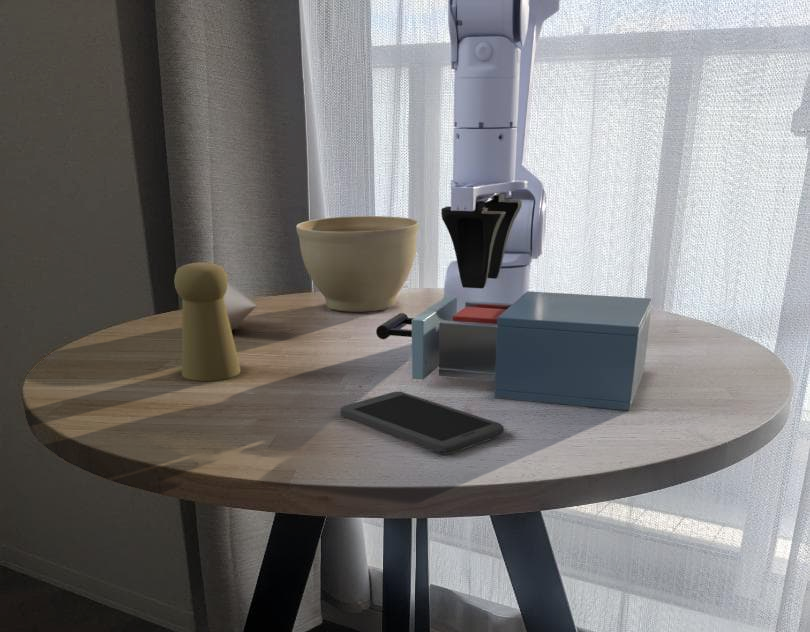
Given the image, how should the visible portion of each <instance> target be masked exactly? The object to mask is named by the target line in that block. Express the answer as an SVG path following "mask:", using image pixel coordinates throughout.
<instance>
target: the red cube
mask: <svg viewBox="0 0 810 632" xmlns="http://www.w3.org/2000/svg"><path fill="white" fill-rule="evenodd" d="M506 310H507V309H493V308H477V307H465V308H463V309H462V310H461V311H459V312H458V313H457V314H455V315H454V316H453V321H459V322H473V323H487V324H497V318H498V317H499V316H500V315H501V314H502V313H503V312H504V311H506Z"/></svg>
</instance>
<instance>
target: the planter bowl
mask: <svg viewBox="0 0 810 632" xmlns="http://www.w3.org/2000/svg"><path fill="white" fill-rule="evenodd" d="M295 226H296V227H295V228H296V233H297V236H298V241H299V248H300V254H301V257H302V260H303V264H304V266H305V269H306V271H307V274H308V275H309V277H310V279H311V281H312V282H313V284H314V285H315V287H316V288H317V289H318V291H319V293H320V294H321V295H322V296H323V297H324V300H325V305H326V307H327V308H329V309H331V310H334V311H339V312H355V313H356V312H371V311H380V310H387V309H389V308H391V307H393V306H395V305H396V303H397V297H398V293H399V292H401V290H402V288H403V287H404V285H405V284H406V281H407V279H408V278H409V275H410V273H411V270H412V268H413V265H414V261H415V257H416V251H417V246H418V245H417V244H418V243H417V242H418V231H419V226H420V225H419V221H418V220H417V219H415V218H410V217H409V218H408V217H404V216H403V217H402V216H386V215H385V216H384V215H354V216H353V215H351V216H334V217H324V218H316V219H311V220H310V219H309V220H307V221H303V222H300V223H297V224H296V225H295Z"/></svg>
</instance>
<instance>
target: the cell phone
mask: <svg viewBox="0 0 810 632" xmlns="http://www.w3.org/2000/svg"><path fill="white" fill-rule="evenodd" d="M339 411H340V416H342V417H343V418H345V419H347V420H351V421H353V422H356V423H358V424H361V425H364V426H366V427H369V428H371V429H374V430H377V431H379V432H383V433H385V434H387V435H390V436H393V437H396V438H398V439H401V440H403V441H406V442H409V443H411V444H414V445H416V446H419V447H422V448H425V449H427V450H430V451H433V452H435V453H438V454H452V453H455V452H459V451H461V450H463V449H466V448H469V447H472V446H474V445H475V446H476V445H478V444H481V443H485V442H486V441H489V440H491V439H495V438H497V437H499V436H502V435H503V434H504V432H505V427H504V425H503V424H502V423H500V422H497V421H493V420H491V419H488V418H485V417H481V416H479V415H475V414H472V413H469V412H466V411H463V410H460V409H457V408H454V407H451V406H447V405H445V404H441V403H438V402H435V401H432V400H428V399H426V398H422V397H419V396H416V395H413V394H410V393H407V392H404V391H401V390H400V391H392V392H388V393H385V394H384V393H383V394H381V395H377V396H374V397H371V398H367V399H363V400H360V401H357V402H353V403H349V404H346V405H342V406H341V407H340V408H339Z"/></svg>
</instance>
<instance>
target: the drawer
mask: <svg viewBox="0 0 810 632" xmlns="http://www.w3.org/2000/svg"><path fill="white" fill-rule="evenodd" d="M511 305H512V304H507V303H492V302H476V301H467V302H465V307H477V308H493V309H508V308H509V307H510V306H511ZM455 314H457V297H448V296H447V297H445V298H444V297H443V298H442V299H441V300H439V301H438V302H436V303H434V304H433V305H431V306H430V307H429V308H427V309H425V310H424V311H423V312H421V313H420V314H418V315H417V316H415V317H409V316H408V315H407V314H406V313H404V312H400V313H398V314H396V315H394V316H393V317H392V318H390V319H388V320H387V321H385V322H384V323H381V324H380V325H379V326H377V327H376V331H375V334H376V336H377V337H378V338H379V339H380V340H387V339H388V338H389V337H391V336H394V337H406V338H407V337H408V338H411V378H412V380H421V381H424V380H425V379H426V378H427V377H429V375H431V373H433V372H434V371H435V370H436V369H437V368H438V370H437V371H438V373H437V374H438V375H437V376H438V377H443V378H453V379H466V380H474V381H475V380H476V381H487V382H495V367H496V341H497V324H487V323H473V322H459V321H453V316H454V315H455ZM407 325H409V326H410V325H411V329H406V328H404V327H406V326H407Z"/></svg>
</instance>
